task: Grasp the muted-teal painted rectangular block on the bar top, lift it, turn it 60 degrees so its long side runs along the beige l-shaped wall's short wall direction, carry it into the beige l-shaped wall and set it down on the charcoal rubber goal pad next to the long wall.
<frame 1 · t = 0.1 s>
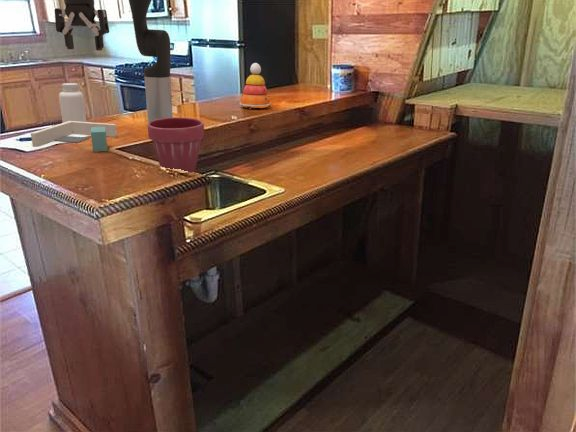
hand: (84, 49, 138), 29 cm above the counter, fingers open, 8 cm apart
beige l-shaped wall: (79, 140, 162), on the counter
goal pad: (71, 139, 162), on the counter
teal block: (100, 149, 152), on the counter
pill bottle: (75, 127, 180), on the counter
plant pot: (178, 170, 135), on the counter
stacking toy: (255, 108, 228), on the counter
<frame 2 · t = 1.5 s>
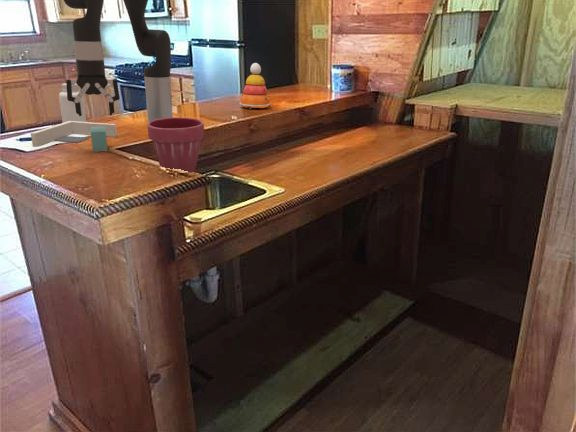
hand: (95, 115, 148), 10 cm above the counter, fingers open, 8 cm apart
nothing on the counter moved.
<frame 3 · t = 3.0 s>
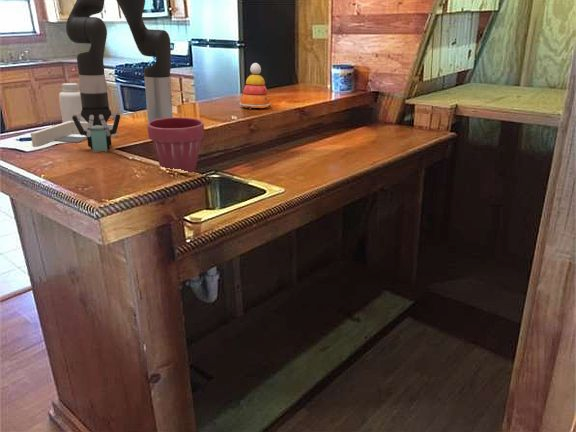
hand: (100, 147, 152), 0 cm above the counter, fingers closed on teal block, 4 cm apart
teal block: (100, 148, 152), on the counter, touching gripper
everything else where it was.
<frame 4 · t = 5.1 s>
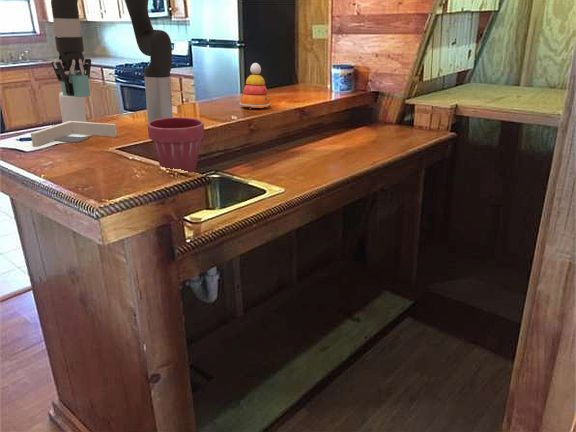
hand: (76, 94, 154), 15 cm above the counter, fingers closed on teal block, 4 cm apart
teal block: (76, 95, 154), point 15 cm above the counter, touching gripper
everything else where it was.
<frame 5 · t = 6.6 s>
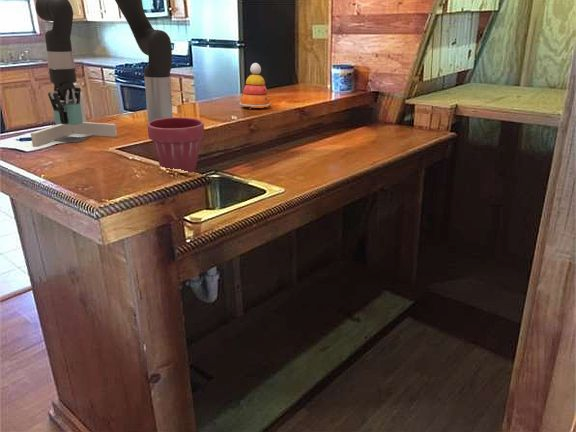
hand: (69, 122, 160), 6 cm above the counter, fingers closed on teal block, 4 cm apart
teal block: (69, 123, 160), point 5 cm above the counter, touching gripper
everything else where it was.
when the fingers open (2 cm above the counter, at t = 7.5 s): teal block drops 1 cm, resting on goal pad.
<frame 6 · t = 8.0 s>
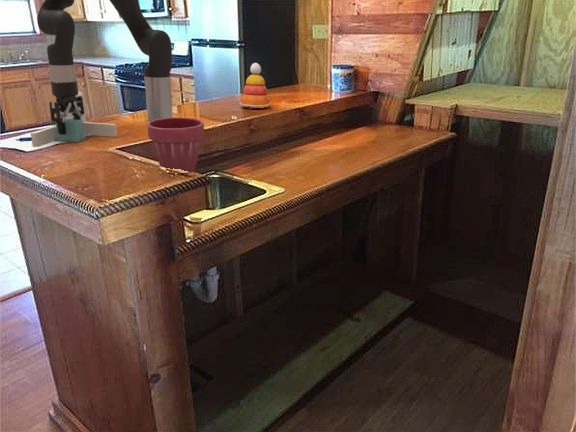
hand: (70, 131, 161), 3 cm above the counter, fingers open, 8 cm apart
teal block: (71, 138, 162), resting on goal pad
everything else where it was.
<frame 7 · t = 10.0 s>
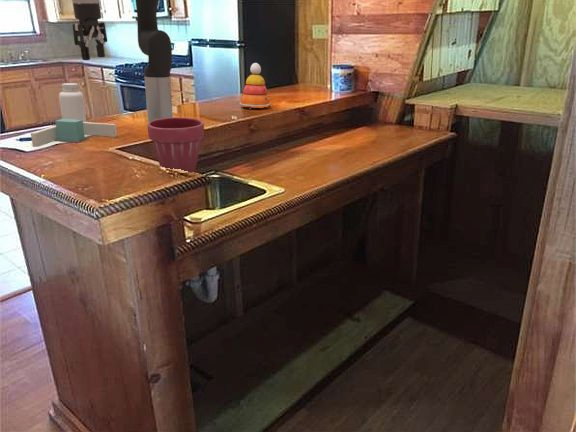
hand: (94, 58, 156), 25 cm above the counter, fingers open, 8 cm apart
nothing on the counter moved.
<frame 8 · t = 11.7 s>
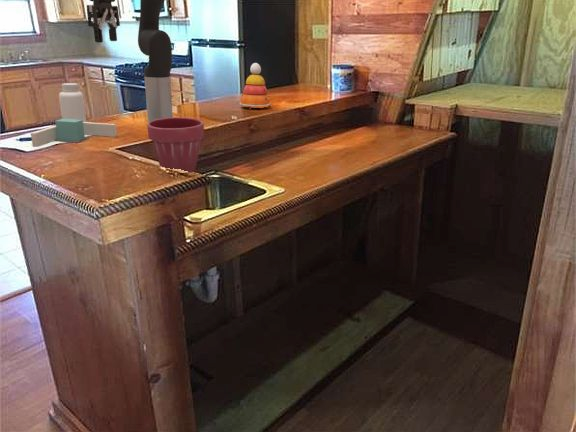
hand: (106, 41, 155), 30 cm above the counter, fingers open, 8 cm apart
nothing on the counter moved.
at the end: teal block inside the target area (0.1 cm from its centre), resting on goal pad; teal block tilted 0°; the gripper is holding nothing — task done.
